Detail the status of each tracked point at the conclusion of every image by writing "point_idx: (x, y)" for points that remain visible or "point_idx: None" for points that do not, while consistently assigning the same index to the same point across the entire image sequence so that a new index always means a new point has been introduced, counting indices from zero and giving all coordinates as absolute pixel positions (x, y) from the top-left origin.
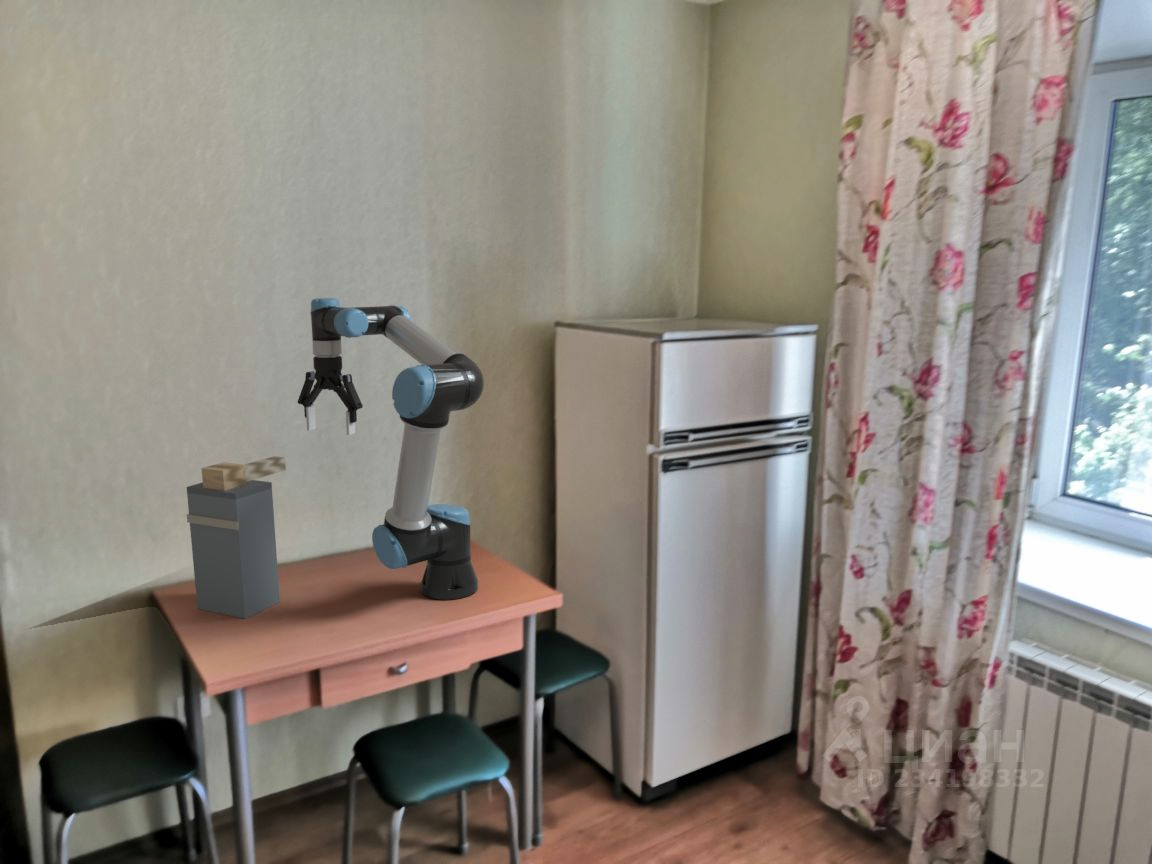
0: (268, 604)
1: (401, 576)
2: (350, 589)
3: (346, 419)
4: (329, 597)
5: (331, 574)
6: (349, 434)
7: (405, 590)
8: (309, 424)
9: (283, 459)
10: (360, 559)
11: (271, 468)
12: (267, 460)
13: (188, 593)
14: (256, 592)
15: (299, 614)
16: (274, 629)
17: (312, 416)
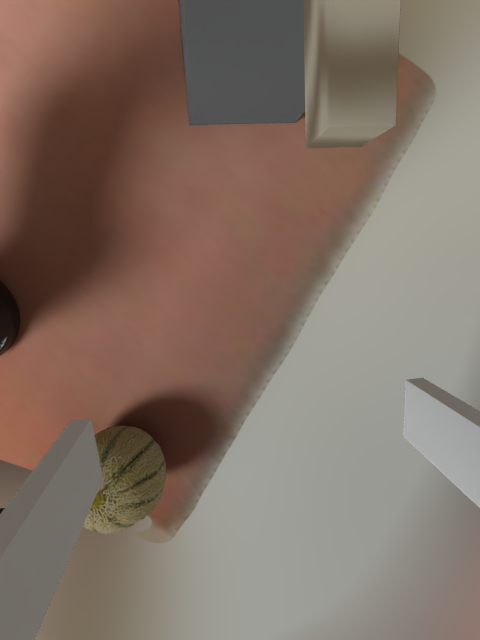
0: (186, 90)
1: (93, 324)
2: (125, 232)
3: (29, 505)
4: (128, 183)
5: (210, 273)
6: (70, 427)
7: (34, 274)
8: (433, 402)
9: (325, 117)
10: (219, 353)
11: (314, 29)
12: (359, 10)
13: None
14: (182, 39)
15: (111, 91)
16: (93, 8)
17: (476, 472)
